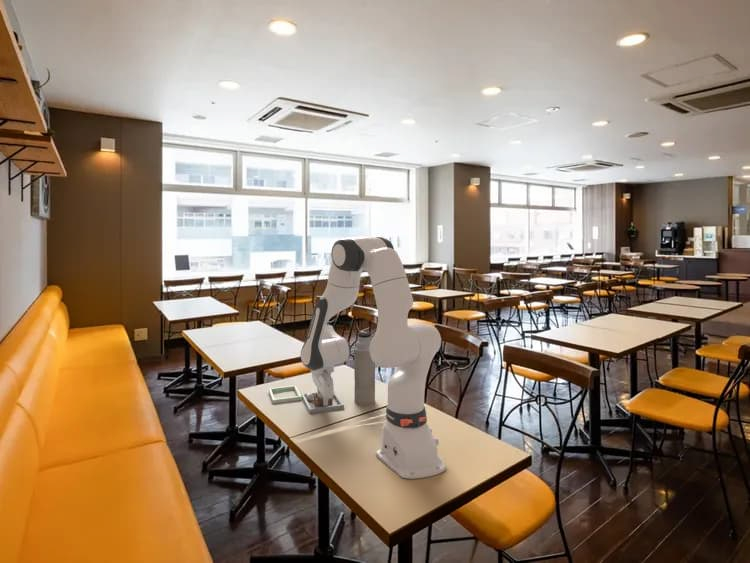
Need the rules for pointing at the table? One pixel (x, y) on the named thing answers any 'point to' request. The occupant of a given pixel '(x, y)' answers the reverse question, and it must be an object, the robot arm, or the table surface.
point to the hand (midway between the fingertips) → (322, 401)
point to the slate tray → (321, 409)
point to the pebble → (309, 397)
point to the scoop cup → (320, 402)
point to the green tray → (281, 390)
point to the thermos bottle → (364, 371)
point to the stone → (319, 396)
